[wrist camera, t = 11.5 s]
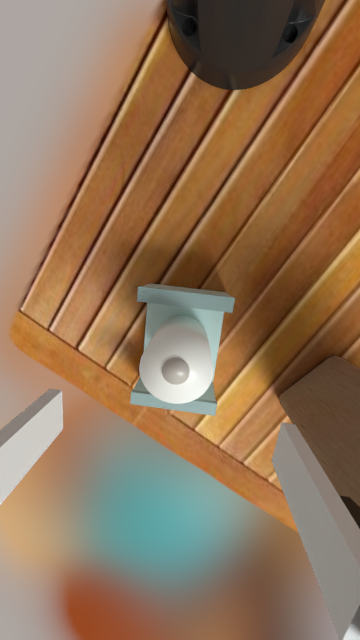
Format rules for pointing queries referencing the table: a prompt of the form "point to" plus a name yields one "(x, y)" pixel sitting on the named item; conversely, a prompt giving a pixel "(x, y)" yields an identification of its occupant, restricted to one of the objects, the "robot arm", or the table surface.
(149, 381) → the roll
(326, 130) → the table surface
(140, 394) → the cradle
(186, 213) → the table surface
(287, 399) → the wooden block
